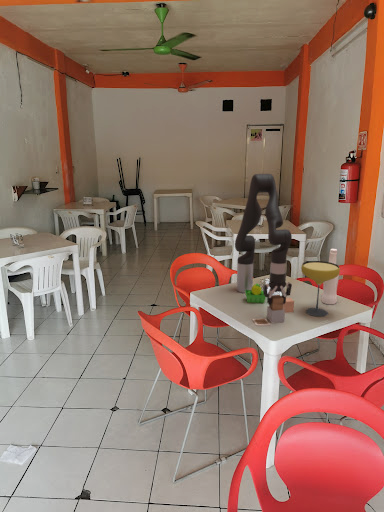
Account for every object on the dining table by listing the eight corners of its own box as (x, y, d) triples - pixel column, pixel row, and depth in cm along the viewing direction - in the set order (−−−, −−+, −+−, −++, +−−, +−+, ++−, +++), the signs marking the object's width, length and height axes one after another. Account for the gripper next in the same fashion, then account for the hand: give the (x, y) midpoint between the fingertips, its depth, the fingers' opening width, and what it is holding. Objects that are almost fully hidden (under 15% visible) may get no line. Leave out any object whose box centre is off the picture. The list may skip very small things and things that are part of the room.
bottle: (317, 301, 214) (322, 248, 206) (328, 298, 217) (333, 246, 210) (329, 306, 207) (333, 251, 199) (339, 303, 210) (345, 249, 203)
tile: (251, 320, 190) (252, 318, 190) (265, 319, 191) (265, 317, 191) (256, 326, 183) (256, 324, 183) (270, 325, 184) (270, 323, 184)
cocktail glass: (302, 319, 190) (306, 270, 184) (295, 305, 208) (298, 260, 202) (340, 320, 189) (345, 271, 183) (329, 306, 207) (333, 260, 200)
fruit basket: (265, 298, 218) (266, 279, 215) (266, 304, 209) (267, 285, 206) (244, 298, 219) (245, 279, 216) (245, 304, 210) (246, 284, 207)
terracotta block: (280, 309, 203) (281, 298, 202) (289, 308, 204) (290, 297, 203) (284, 312, 199) (284, 301, 197) (293, 312, 199) (294, 301, 198)
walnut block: (269, 306, 191) (269, 295, 189) (278, 306, 192) (279, 294, 190) (272, 310, 186) (273, 299, 185) (282, 310, 187) (283, 298, 185)
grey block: (266, 317, 193) (267, 306, 191) (279, 316, 194) (279, 305, 192) (271, 323, 187) (272, 311, 185) (284, 322, 188) (284, 310, 186)
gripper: (289, 268, 189) (287, 300, 193) (260, 269, 186) (259, 302, 191) (295, 272, 181) (293, 306, 186) (266, 274, 179) (264, 308, 184)
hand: (276, 303), depth 188 cm, fingers open, 6 cm apart
